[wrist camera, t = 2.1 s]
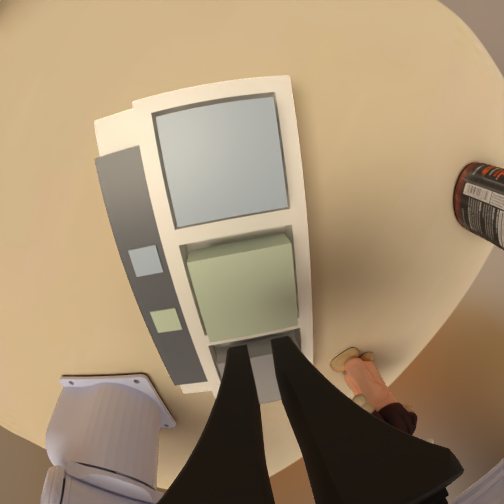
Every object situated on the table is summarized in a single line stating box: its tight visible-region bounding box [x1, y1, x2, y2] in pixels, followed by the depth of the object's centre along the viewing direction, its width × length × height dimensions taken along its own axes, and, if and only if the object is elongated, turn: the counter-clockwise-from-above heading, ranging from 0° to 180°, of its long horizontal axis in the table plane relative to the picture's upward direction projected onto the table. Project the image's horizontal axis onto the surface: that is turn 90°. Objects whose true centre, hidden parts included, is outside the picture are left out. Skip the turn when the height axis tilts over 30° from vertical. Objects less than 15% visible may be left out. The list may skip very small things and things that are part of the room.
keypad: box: [94, 75, 313, 400], centre depth 16 cm, size 10×20×3 cm, turn 8°
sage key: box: [187, 233, 298, 343], centre depth 14 cm, size 5×5×1 cm
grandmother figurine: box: [330, 348, 434, 444], centre depth 17 cm, size 8×4×13 cm, turn 69°
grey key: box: [216, 333, 299, 404], centre depth 17 cm, size 5×5×1 cm
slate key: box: [156, 97, 288, 227], centre depth 12 cm, size 5×5×1 cm
